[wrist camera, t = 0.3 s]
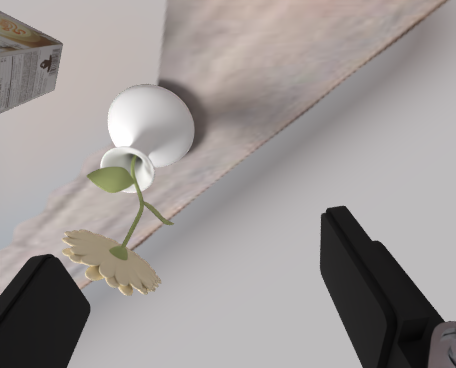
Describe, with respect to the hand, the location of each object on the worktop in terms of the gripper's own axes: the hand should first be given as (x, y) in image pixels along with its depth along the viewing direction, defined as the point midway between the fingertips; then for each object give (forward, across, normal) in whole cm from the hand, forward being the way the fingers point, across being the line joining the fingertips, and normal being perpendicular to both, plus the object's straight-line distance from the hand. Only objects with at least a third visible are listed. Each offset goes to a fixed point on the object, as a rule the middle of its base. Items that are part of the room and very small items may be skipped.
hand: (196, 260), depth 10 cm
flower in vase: (+30, +8, +4) cm, 31 cm away
